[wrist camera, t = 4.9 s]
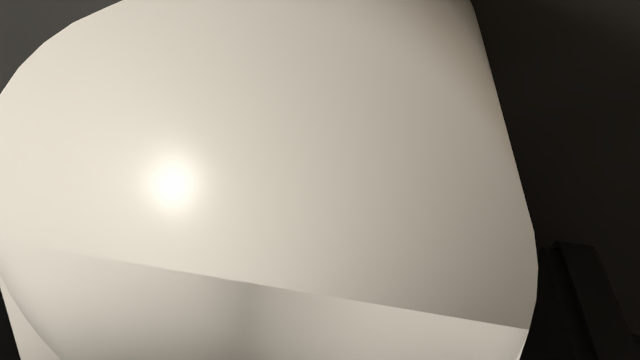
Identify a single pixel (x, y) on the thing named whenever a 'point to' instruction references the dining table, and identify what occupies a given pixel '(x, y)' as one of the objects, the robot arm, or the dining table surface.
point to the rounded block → (263, 187)
